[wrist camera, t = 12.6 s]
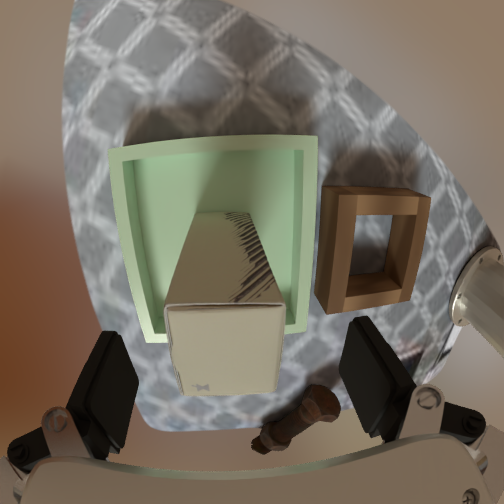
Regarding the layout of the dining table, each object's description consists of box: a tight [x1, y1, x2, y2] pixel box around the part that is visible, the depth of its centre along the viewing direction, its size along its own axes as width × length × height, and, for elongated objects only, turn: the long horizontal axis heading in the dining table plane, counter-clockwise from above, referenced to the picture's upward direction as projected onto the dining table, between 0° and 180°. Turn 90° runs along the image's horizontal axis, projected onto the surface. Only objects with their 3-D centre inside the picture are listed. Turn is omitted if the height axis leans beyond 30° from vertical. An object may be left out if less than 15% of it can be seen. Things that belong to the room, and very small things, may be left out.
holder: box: [314, 186, 431, 315], centre depth 22 cm, size 9×10×4 cm
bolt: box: [251, 385, 341, 454], centre depth 32 cm, size 6×5×15 cm
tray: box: [108, 135, 318, 343], centre depth 21 cm, size 14×16×3 cm
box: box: [163, 212, 286, 396], centre depth 16 cm, size 5×4×13 cm
